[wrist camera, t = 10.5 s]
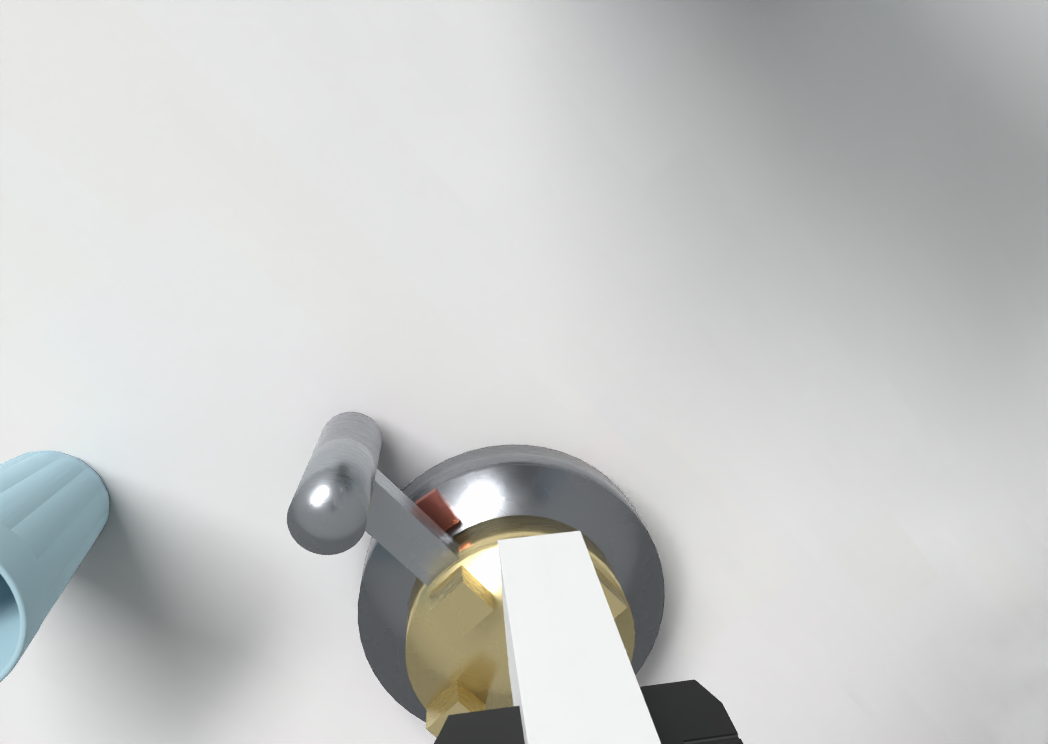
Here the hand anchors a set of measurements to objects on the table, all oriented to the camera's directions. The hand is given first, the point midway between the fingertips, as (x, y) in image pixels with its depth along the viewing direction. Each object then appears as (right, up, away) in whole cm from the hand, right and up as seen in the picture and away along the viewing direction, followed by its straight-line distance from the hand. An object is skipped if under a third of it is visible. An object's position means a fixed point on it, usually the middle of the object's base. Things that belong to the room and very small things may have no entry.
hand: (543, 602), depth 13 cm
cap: (-1, -7, +28) cm, 29 cm away
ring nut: (-4, -5, +26) cm, 26 cm away
